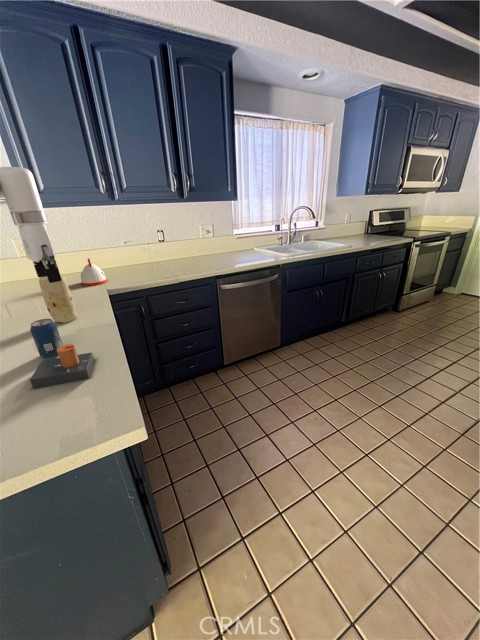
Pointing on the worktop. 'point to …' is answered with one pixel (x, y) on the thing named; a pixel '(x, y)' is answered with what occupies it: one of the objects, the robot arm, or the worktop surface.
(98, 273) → the kitchen timer
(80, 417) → the worktop surface
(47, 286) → the food model
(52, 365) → the cooker panel
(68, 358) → the knob
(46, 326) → the soda can
